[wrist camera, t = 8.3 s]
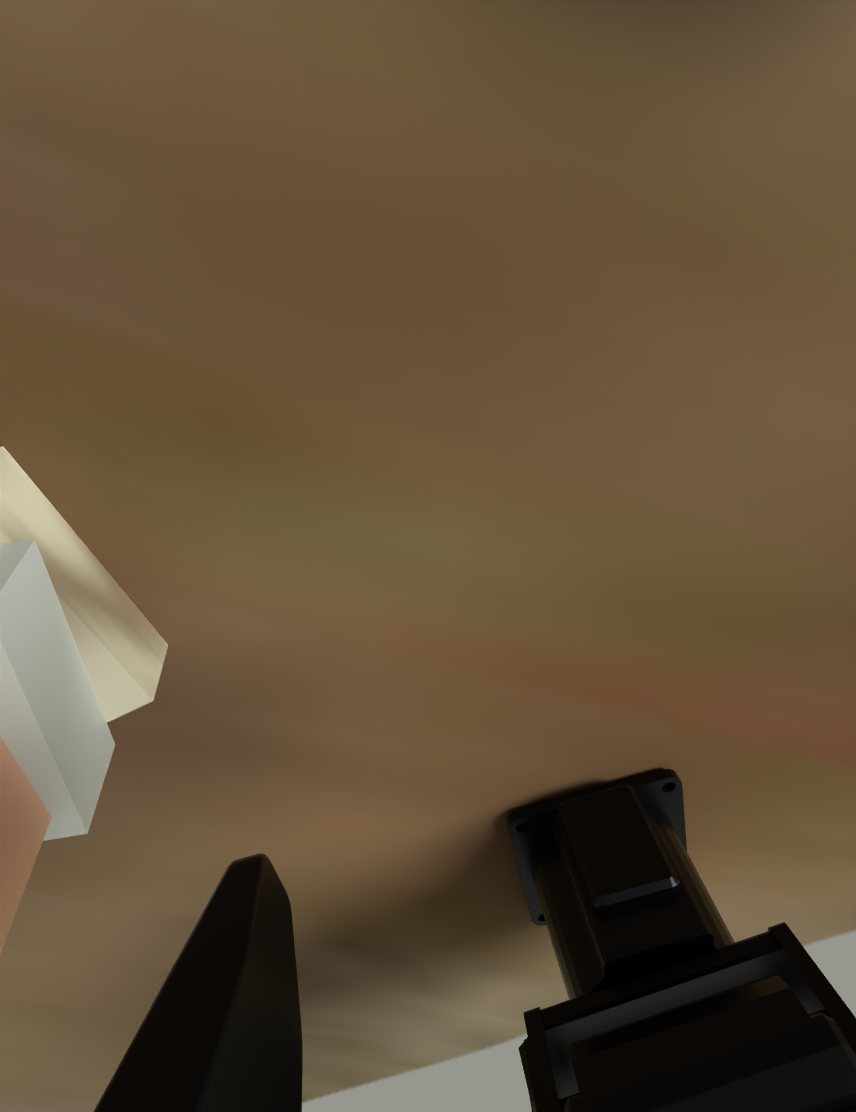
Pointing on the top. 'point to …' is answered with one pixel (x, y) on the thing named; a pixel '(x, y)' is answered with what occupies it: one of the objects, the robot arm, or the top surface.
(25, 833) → the cube
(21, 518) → the tower base
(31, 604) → the tower top
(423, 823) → the top surface
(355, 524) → the top surface
